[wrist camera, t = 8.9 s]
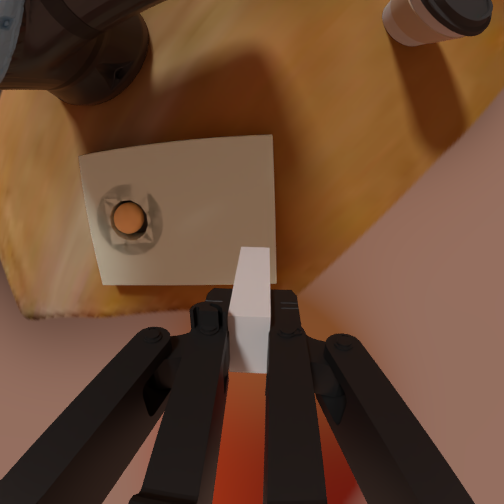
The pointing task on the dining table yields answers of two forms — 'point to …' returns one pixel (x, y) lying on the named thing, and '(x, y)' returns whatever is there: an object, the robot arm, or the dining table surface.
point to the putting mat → (182, 209)
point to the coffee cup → (435, 20)
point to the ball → (128, 218)
